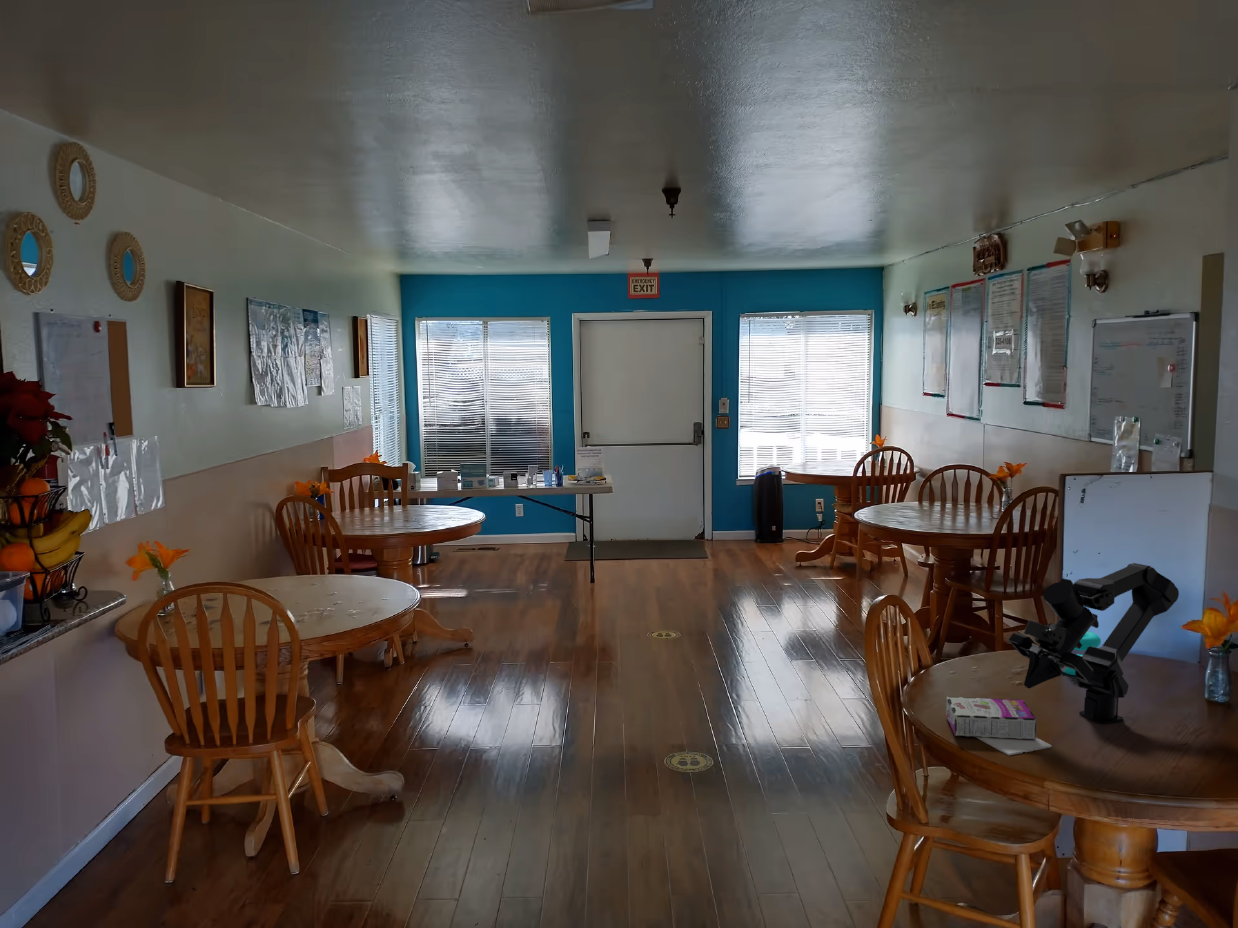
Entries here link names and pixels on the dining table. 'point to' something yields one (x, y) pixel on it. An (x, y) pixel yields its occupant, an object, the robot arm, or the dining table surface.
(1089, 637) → the donuts
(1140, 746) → the dining table surface
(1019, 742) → the mat
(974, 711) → the candy bar box
